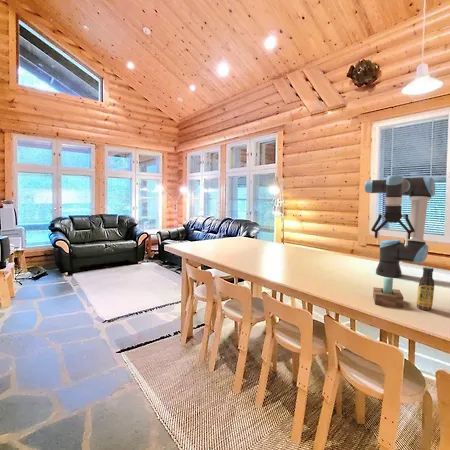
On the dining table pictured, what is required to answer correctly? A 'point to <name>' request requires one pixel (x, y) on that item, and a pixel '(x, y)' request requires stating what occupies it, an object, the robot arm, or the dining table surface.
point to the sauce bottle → (426, 290)
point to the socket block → (388, 297)
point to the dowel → (387, 285)
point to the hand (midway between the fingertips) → (391, 244)
